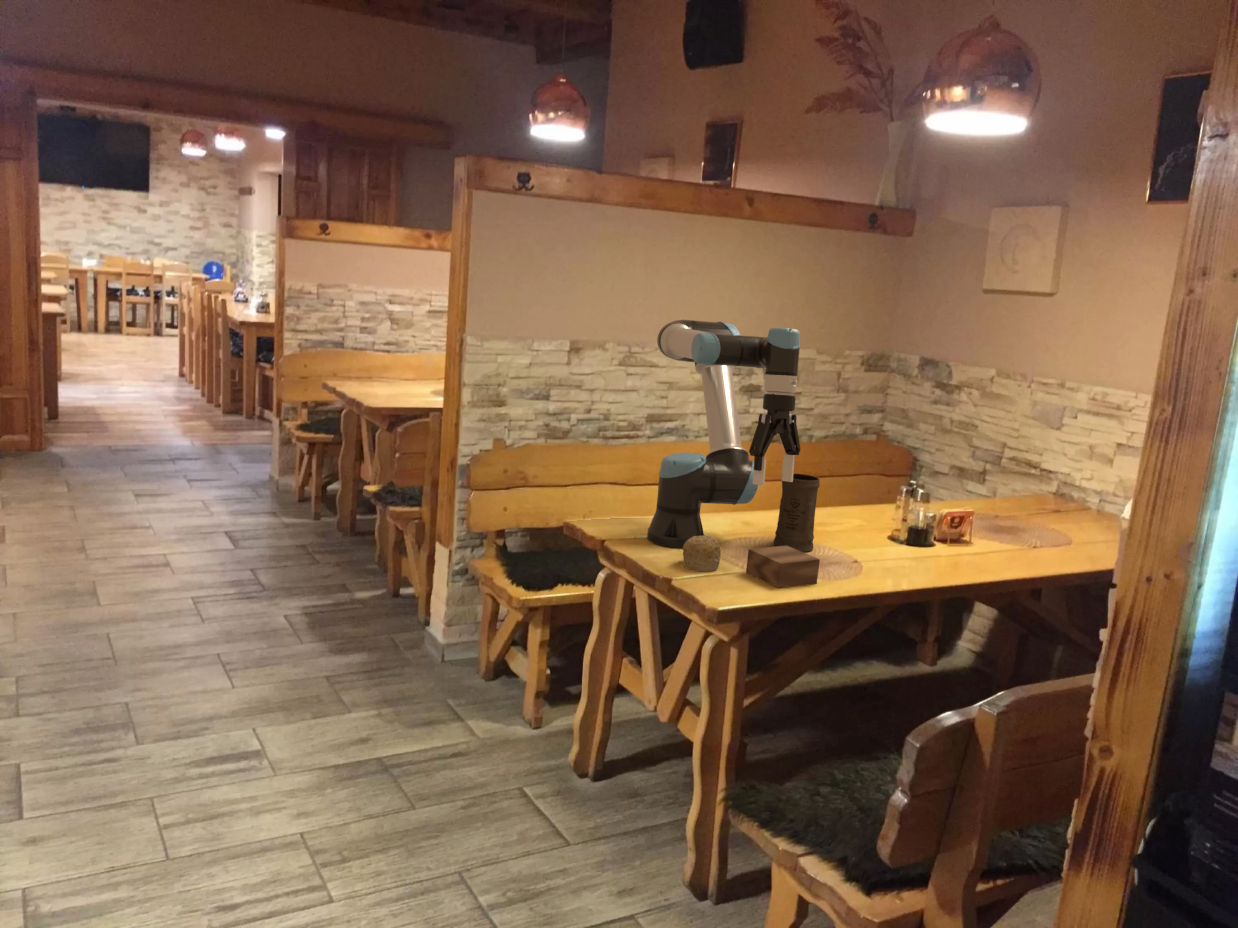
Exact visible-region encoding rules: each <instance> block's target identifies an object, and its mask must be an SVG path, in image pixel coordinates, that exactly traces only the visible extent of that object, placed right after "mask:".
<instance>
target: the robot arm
mask: <svg viewBox="0 0 1238 928" xmlns="http://www.w3.org/2000/svg"><path fill="white" fill-rule="evenodd" d="M656 343H657V347H658V349H659V351H660V352H661V354H662V355H664V356H665V357H666V358H669V359H671V360H674V361H679V362H687V363H688V362H689V363H694V369H695V371H696V373H698V374H699V375H701V382H702V392H703V401H704V407H705V416H706V424H707V433H708V434H707V435H708V443H709V451H708V453H707V454H706V455H704V454H702V453H699V452H678V453H677V452H676V453H671V454H668V455H666V456H664V457H663V458H662V460H661V461H660V468H659V473H658V477H659V478H658V485H657V486H658V490H657V499H656V510H655V513H654V515H653V517H652V519H651V521H650V525H649V527H648V528H647V536H646V539H647V540H648V541H649V542H651V543H652V544H653V543H654V544H656V545H659V546H664V547H667V548H675V549H676V548H677V549H683V546H684V544H685V542H686V541H687V540H688V539H690V538H691V537H693V536H704V535H705V533H704V528H703V523H702V518H701V507H702V504H714V505H716V504H717V505H733V506H735V505H747V504H750V502H752V500H753V499H754V498H755V496H756V495H757V491H758V487H759V486H765V482H766V470H767V469H766V468H767V457H766V456H765V455H766V453H767V451H768V449H769V447H770V445H771V443H772V441H773V439H774V437H775V436H776V435H779V438H780V440H781V443H782V446H783V449H784V451H785V453H784V454H783V455H782V456H783V458H782V469H781V470H782V471H781V482H782V481H787V482H793V474H795V473H794V470H795V469H794V468H795V456H799V455H800V452H801V444H800V438H799V437H800V436H799V432H798V425H797V414H793V413H792V414H791V413H790V412H794V411H795V409H796V396H795V395H794V394H796V392H797V385H798V384H799V383H798V373H799V372H798V370H799V358H800V348H801V332H800V331H799V330H798V329H796V328H790V327H771V328H770V329H769V330H768V333H767V336H754V335H741V333H740V331H739V329H738V328H737V327H736V325H734V324H733V323H727V322H723V321H717V322H716V321H703V320H691V319H678V320H673V321H670V322H668V323H666V324H665V325H664V326H663V327H662V328H661V329H660V330H659V331H658V334H657V338H656ZM736 367H743V368H744V367H745V368H756V369H763V370H764V369H765V373H764V385H763V391H764V392H765V393H764V395H763V400H762V409H763V410H766V412H767V413H766V414H765V413H760V414H759V416H758V422H757V425H756V428H755V431H754V434H753V437H752V440H751V444H750V447H749V449H748V451H747V449H745V448H744V447H742V446H743V445H742V439H741V431H740V422H739V416H738V415H739V414H738V407H737V400H736V392H735V385H734V377H733V375H734V374H733V371H734V370H735V368H736ZM749 454H750V455H749ZM750 456H751V457H752V456H753V457H754V459H753V460H750Z"/></svg>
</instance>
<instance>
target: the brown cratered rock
mask: <svg viewBox="0 0 1238 928" xmlns="http://www.w3.org/2000/svg"><path fill="white" fill-rule="evenodd" d="M682 550H683V553H682V555H683V556H682V557H683V558H682V559H683V566H684V567H686V569H688V570H692V571H695V572H709V573H710V572H715V571H717V569H719V565H720V561H721V545H720V542H719V541H718V539H717V538H716V537H714V536H712V535H709V534H708V535H707V534H704V536H693V537H691V538H690V539H688V540H687V541H686V542H685V544H684V546H683V548H682Z"/></svg>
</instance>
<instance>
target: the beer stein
mask: <svg viewBox="0 0 1238 928" xmlns="http://www.w3.org/2000/svg"><path fill="white" fill-rule="evenodd" d="M820 486H821V483H820V478H819V477H817V476H813V475H811V474H801V473H793V482H787V481H782V480H781V489H782V490H781V498H780V503H779V511H778V518H777V523H776V525H777V527H776V530H775V537H774V539H773V541H772V544H773V547H776V546H789V547H791V548H794V549H796V550H799V551H801V552H803V553H809V552H811V551H813V550H814V543H813V541H814V539H815V535H814V531H815V529H814V528H815V516H816V508H817V507H816V506H817V500H818V497H817V496H818V491H819V488H820Z"/></svg>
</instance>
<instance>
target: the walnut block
mask: <svg viewBox="0 0 1238 928" xmlns="http://www.w3.org/2000/svg"><path fill="white" fill-rule="evenodd" d="M747 551H748V552H747V558H746V559H747V560H746V567H745V568H746V570H745V573H746V574H747V573H748V574H747V575H749V574H750V576H751V575H752V577H754V578H756V577H757V578H756V579H758V578H759V579H758V580H760V579H761V580H760V581H762V580H763V581H762V582H764V581H765V582H764V583H766V582H767V583H766V584H768V583H769V585H770V584H771V585H770V586H772V585H773V586H772V587H774V586H775V587H774V588H776V587H777V589H781V588H780V587H785V588H787V587H786V586H793V587H799V586H798V585H801V586H807V584H809V585H815V584H817V583H818V577H819V569H820V560H821V559H820V558H818V557H815V556H812V555H811V554H808V553H807V552H801V551H799V550H796V549H794V548H791V547H789V546H776V547H775V546H768V547H758V548H757V547H755V548H748V550H747Z"/></svg>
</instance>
